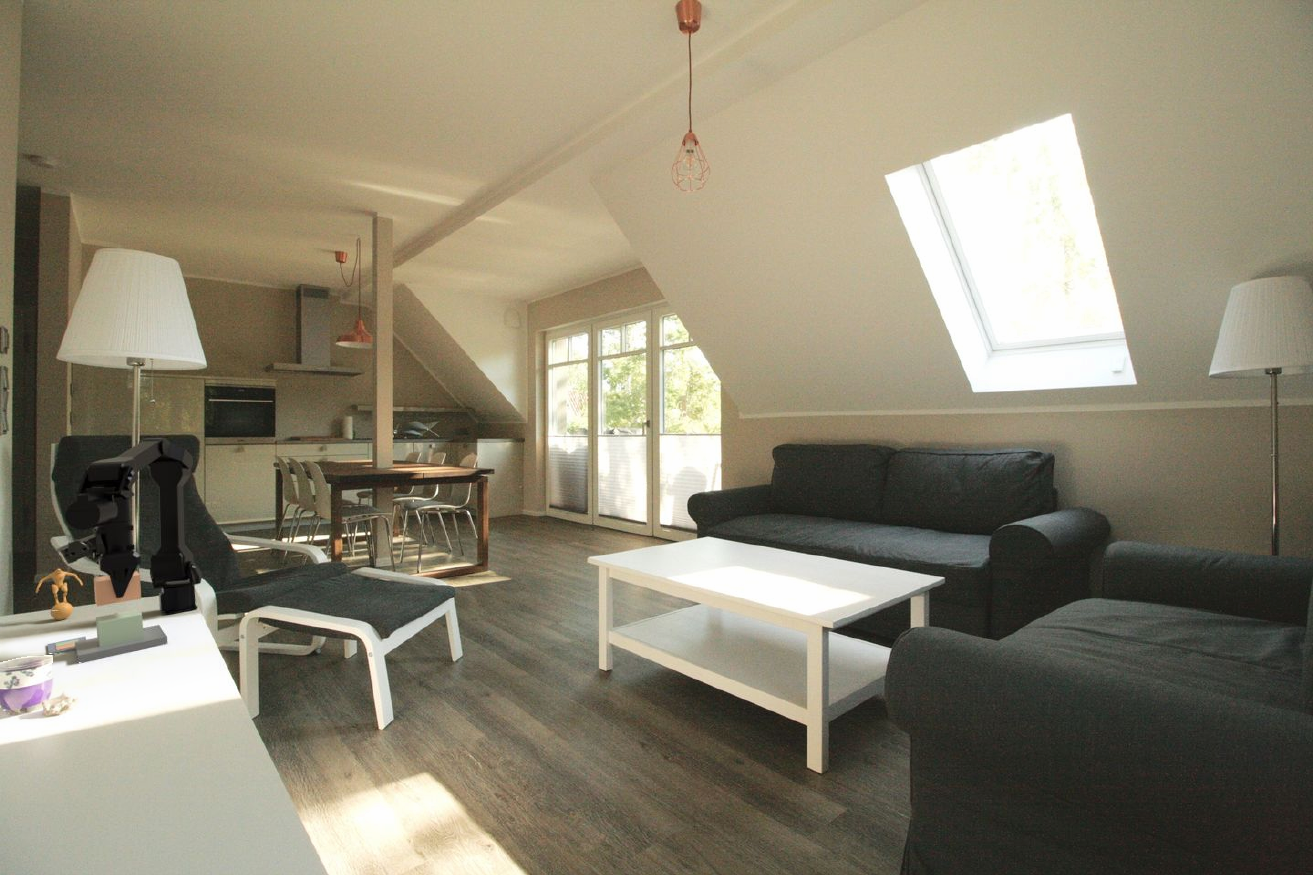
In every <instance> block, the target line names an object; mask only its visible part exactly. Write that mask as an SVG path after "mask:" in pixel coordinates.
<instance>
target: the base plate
mask: <svg viewBox="0 0 1313 875" xmlns="http://www.w3.org/2000/svg"><path fill="white" fill-rule="evenodd" d="M143 637H144V638H140V639H135V640H131V641H126V642H121V643H116V644H112V645H107V646H102V647H100V646H99V644H98V641H97V637H92V638H88V639H87V638H86V640H82V641H77V642H75V650H74V651H75V655H76V659H77V662H78V664H80V663H79V662H82V663H87V662H91V661H95V660H99V659H100V660H101V659H104V658H108V657H109V658H110V657H113V656H118V655H122V653H123V654H127V653H132V652H136V651H140V650H145V649H149V647H150V648H155V647H159V646H163V644H164V645H167V644H168V636H167V635H166V633H165V631H164V630H163V629H162V627H161V625H160V624H157V625H153V626H147V627H143ZM166 643H167V644H166ZM158 645H159V646H158ZM154 646H155V647H154ZM126 652H127V653H126Z"/></svg>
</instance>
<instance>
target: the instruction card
mask: <svg viewBox="0 0 1313 875" xmlns="http://www.w3.org/2000/svg"><path fill="white" fill-rule="evenodd" d="M82 640H87V638H86V636H81V637H77V638H71V639H66V640H65V639H64V640H62V641H57V642H52V643H51V642H50V643H47V650H48V654H49V653H57V654H60V653H59V652H62V653H66V652H70V651H75V642H77V641H82Z"/></svg>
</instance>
